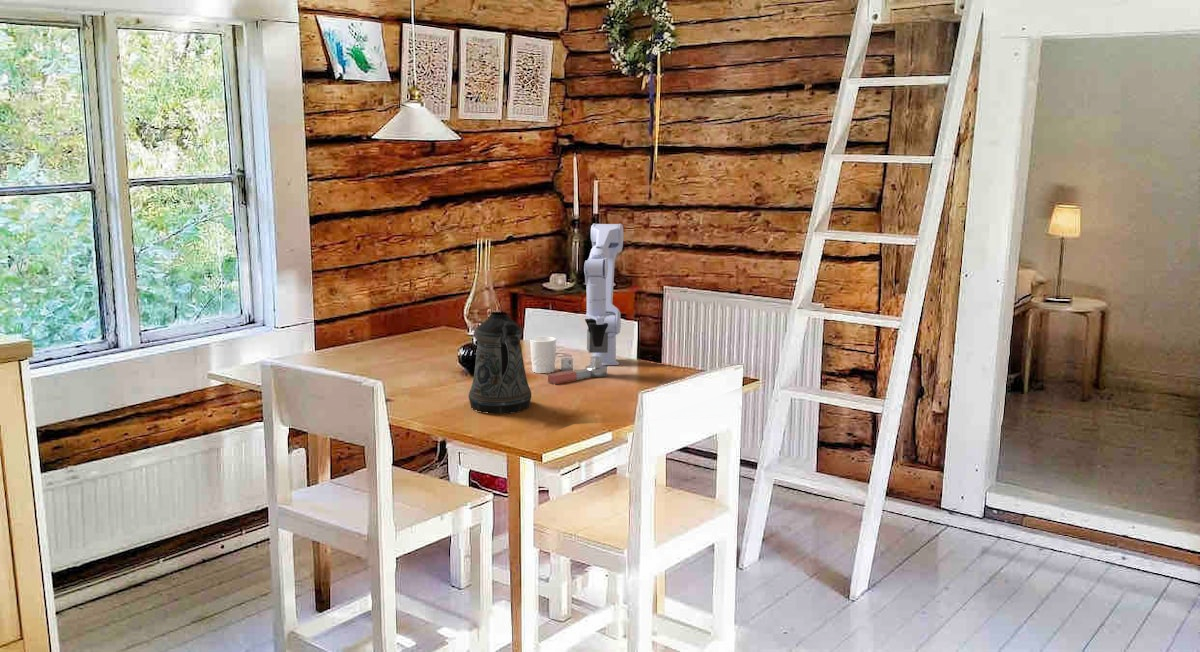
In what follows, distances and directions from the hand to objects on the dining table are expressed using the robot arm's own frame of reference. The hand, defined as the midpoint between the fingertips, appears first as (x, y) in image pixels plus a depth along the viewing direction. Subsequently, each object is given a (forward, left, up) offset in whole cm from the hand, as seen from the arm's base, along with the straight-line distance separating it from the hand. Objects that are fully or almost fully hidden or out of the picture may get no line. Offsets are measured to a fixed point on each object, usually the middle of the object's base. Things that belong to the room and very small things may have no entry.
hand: (596, 344), depth 296 cm
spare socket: (-6, -8, -9) cm, 14 cm away
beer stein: (+32, -29, -10) cm, 44 cm away
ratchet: (+3, -6, -9) cm, 12 cm away
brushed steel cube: (0, 0, -2) cm, 2 cm away
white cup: (-8, -15, -10) cm, 20 cm away
